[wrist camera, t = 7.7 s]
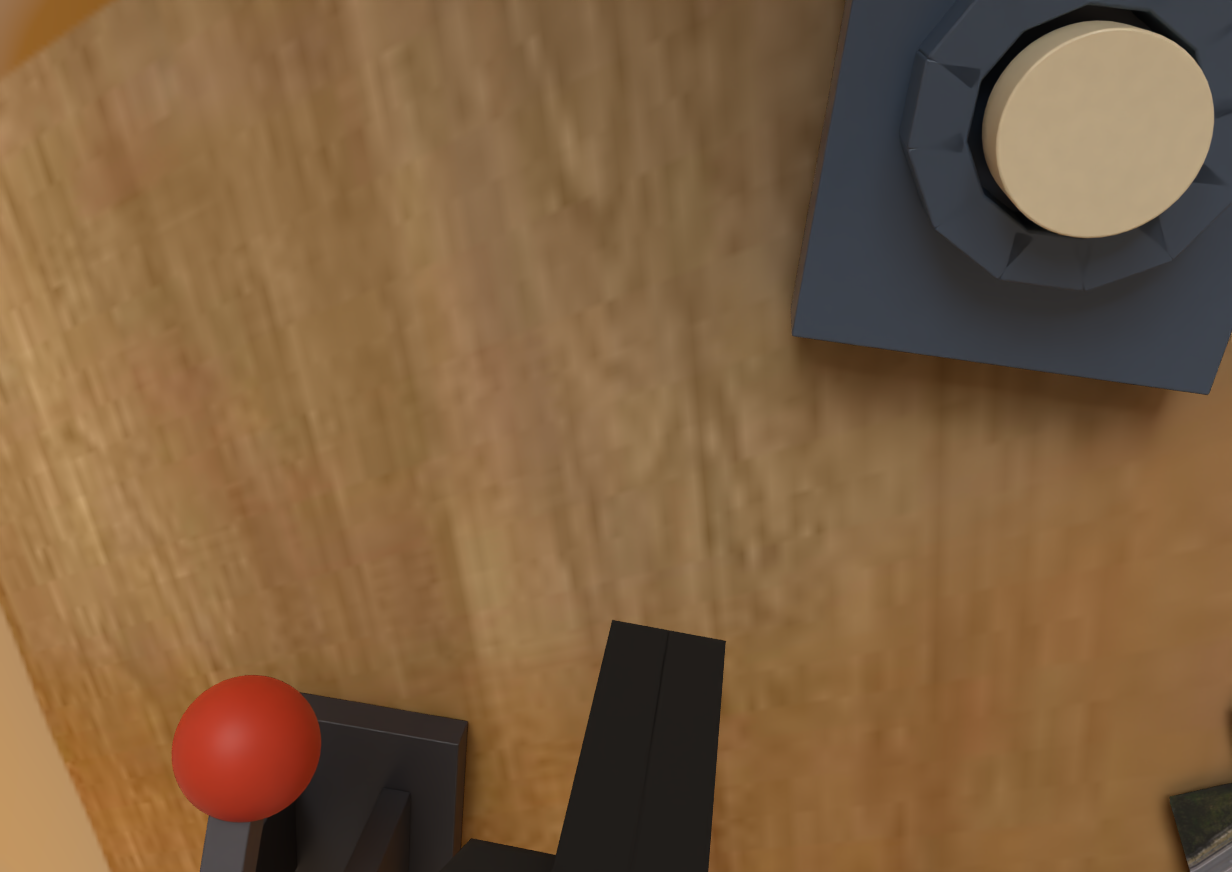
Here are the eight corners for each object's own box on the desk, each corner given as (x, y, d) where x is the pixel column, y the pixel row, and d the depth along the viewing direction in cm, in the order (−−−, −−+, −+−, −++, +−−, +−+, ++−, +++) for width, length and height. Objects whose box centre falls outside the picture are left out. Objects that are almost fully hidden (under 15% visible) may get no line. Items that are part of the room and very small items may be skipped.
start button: (1008, 8, 22) (1025, 15, 21) (1212, 32, 22) (1246, 41, 20) (961, 205, 24) (974, 225, 22) (1150, 229, 24) (1176, 251, 22)
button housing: (884, -215, 24) (902, -240, 20) (1362, -166, 23) (1469, -183, 20) (790, 308, 29) (791, 362, 26) (1179, 363, 28) (1237, 426, 25)
